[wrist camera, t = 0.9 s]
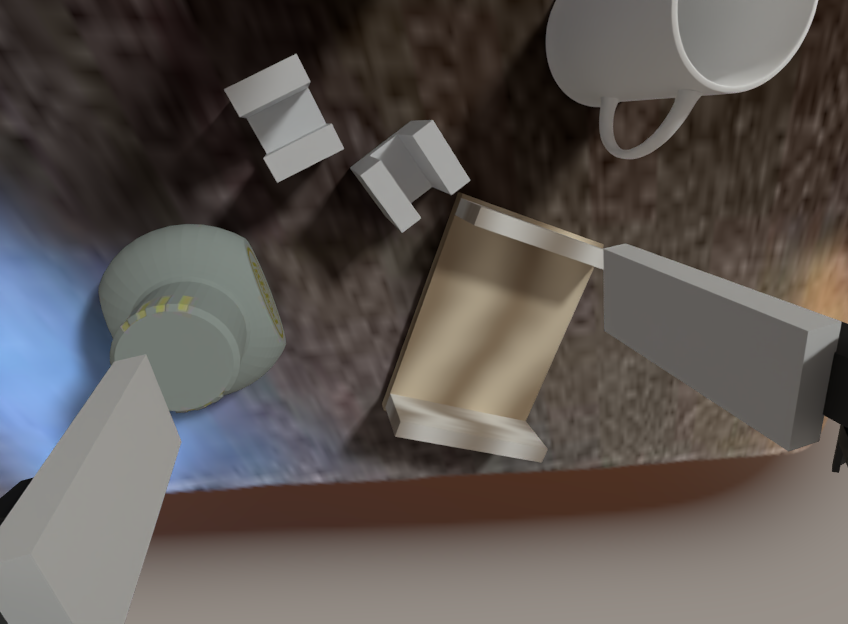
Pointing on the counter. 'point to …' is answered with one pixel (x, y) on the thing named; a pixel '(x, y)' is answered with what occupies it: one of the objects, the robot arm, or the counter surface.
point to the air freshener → (192, 312)
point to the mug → (668, 53)
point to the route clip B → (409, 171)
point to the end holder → (487, 330)
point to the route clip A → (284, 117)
